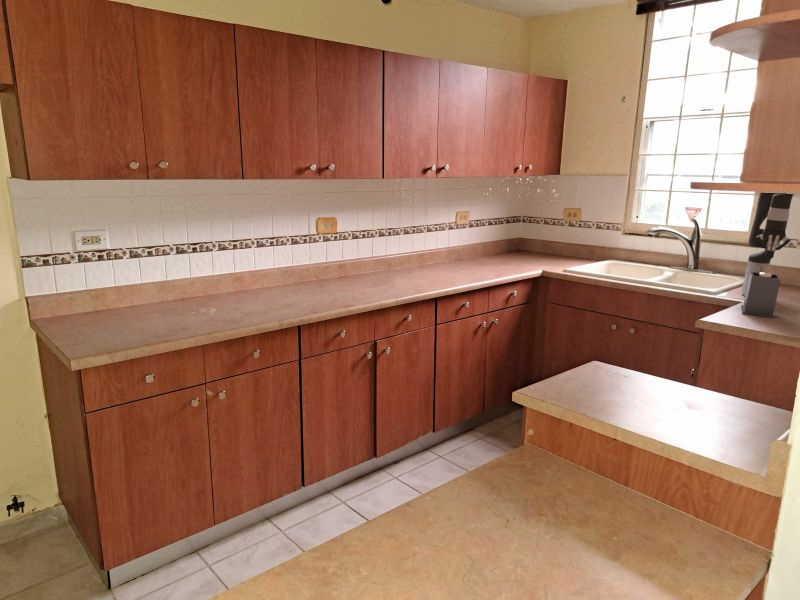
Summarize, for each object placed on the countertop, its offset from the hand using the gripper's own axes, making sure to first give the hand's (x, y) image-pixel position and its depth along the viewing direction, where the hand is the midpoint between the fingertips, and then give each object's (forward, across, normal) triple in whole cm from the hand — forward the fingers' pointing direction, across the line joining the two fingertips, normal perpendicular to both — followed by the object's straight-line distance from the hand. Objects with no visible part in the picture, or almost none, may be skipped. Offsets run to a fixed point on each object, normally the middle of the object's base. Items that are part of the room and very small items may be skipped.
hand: (768, 258), depth 249 cm
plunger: (+23, 0, 0) cm, 23 cm away
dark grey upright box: (+24, 0, 0) cm, 24 cm away
